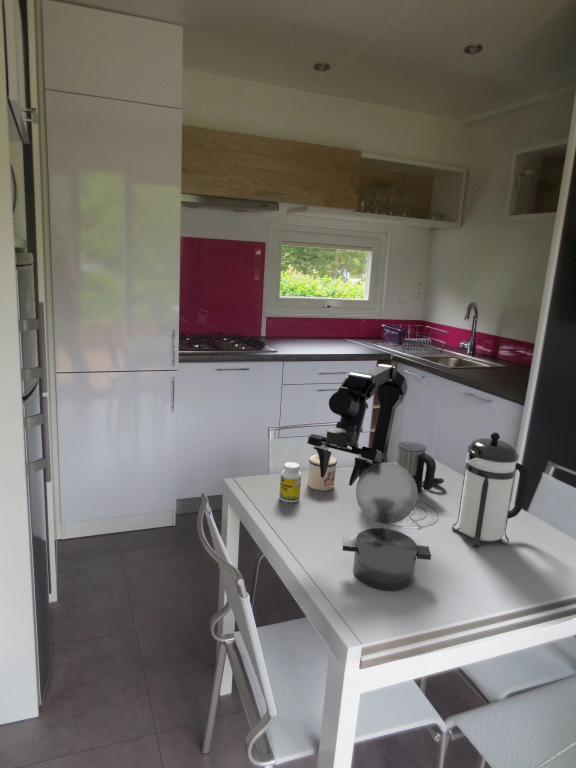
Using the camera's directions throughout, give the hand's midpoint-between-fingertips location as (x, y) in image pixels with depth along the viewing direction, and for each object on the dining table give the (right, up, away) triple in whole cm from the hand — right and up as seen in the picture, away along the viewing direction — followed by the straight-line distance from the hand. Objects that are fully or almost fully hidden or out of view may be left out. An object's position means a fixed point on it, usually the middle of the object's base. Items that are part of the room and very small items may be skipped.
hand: (336, 481), depth 136 cm
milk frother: (+31, -10, +44) cm, 55 cm away
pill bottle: (-12, -11, +29) cm, 33 cm away
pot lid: (+12, -2, -3) cm, 13 cm away
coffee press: (+42, -18, +13) cm, 47 cm away
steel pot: (+10, -20, -9) cm, 24 cm away
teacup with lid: (-1, -9, +41) cm, 42 cm away
